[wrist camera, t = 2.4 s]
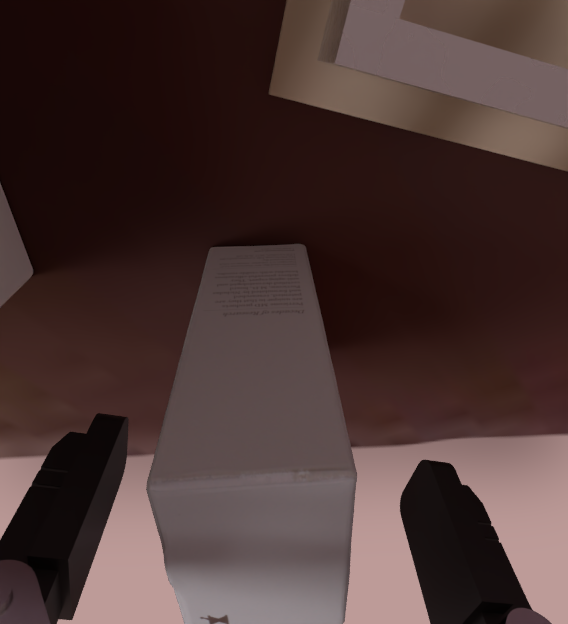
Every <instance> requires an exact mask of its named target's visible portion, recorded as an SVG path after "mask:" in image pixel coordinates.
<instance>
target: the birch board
mask: <svg viewBox="0 0 568 624" xmlns="http://www.w3.org/2000/svg"><path fill="white" fill-rule="evenodd" d="M331 1H332V0H286V5H285V10H284V16H283V21H282V26H281V31H280V36H279V41H278V47H277V52H276V57H275V62H274V67H273V72H272V78H271V83H270V88H269V94H270V95H273V96H277V97H281V98H285V99H289V100H293V101H297V102H301V103H304V104H308V105H312V106H316V107H320V108H324V109H328V110H332V111H335V112H339V113H343V114H347V115H351V116H355V117H359V118H363V119H366V120H370V121H374V122H378V123H382V124H386V125H390V126H394V127H398V128H401V129H405V130H409V131H413V132H417V133H421V134H425V135H429V136H432V137H436V138H440V139H444V140H448V141H452V142H456V143H460V144H463V145H467V146H471V147H475V148H479V149H483V150H487V151H491V152H494V153H498V154H502V155H506V156H510V157H514V158H518V159H522V160H525V161H529V162H533V163H537V164H541V165H545V166H549V167H553V168H556V169H560V170H564V171H568V129H565V128H562V127H558V126H554V125H551V124H547V123H543V122H540V121H536V120H532V119H529V118H525V117H522V116H518V115H514V114H511V113H507V112H503V111H500V110H496V109H492V108H489V107H485V106H481V105H478V104H474V103H471V102H467V101H463V100H460V99H456V98H452V97H449V96H445V95H441V94H438V93H434V92H431V91H427V90H423V89H420V88H416V87H412V86H409V85H405V84H401V83H398V82H394V81H390V80H387V79H383V78H380V77H376V76H372V75H369V74H365V73H361V72H358V71H354V70H350V69H347V68H343V67H340V66H336V65H332V64H329V63H325V62H321V61H318V56H319V52H320V47H321V43H322V39H323V35H324V31H325V26H326V22H327V18H328V14H329V9H330V5H331ZM399 19H402V20H405V21H408V22H412V23H415V24H418V25H422V26H425V27H428V28H432V29H435V30H438V31H442V32H445V33H449V34H452V35H455V36H459V37H462V38H465V39H469V40H472V41H475V42H479V43H482V44H485V45H489V46H492V47H495V48H499V49H502V50H505V51H509V52H512V53H515V54H519V55H522V56H525V57H529V58H532V59H536V60H539V61H542V62H546V63H549V64H552V65H556V66H559V67H562V68H566V69H568V0H405V2H404V5H403V8H402V12H401V15H400V18H399Z"/></svg>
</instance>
